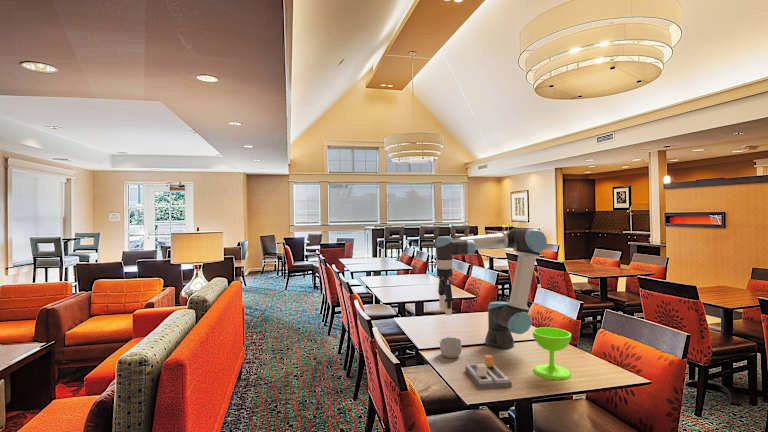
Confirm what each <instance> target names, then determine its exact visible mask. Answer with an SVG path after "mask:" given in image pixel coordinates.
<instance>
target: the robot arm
mask: <svg viewBox="0 0 768 432" xmlns="http://www.w3.org/2000/svg"><path fill="white" fill-rule="evenodd" d="M435 241H436V245H435V249H436V261H435V264H436V267H437V269H436V275H437V276H436V277H439V278H438V281H439V282H438V290H437V291H438V292H437V293H438V295H439V296H438V299H439V309H440V310H441V309H445V316H452V312H453V311H452V304H453V303H452V302H453V300H454V299H453V293H452V292H453V291H452V284H451V282H452V281H451V279H450V278H451V277H453V256H468V255H473V254H475V252H476V250H477V251H478V250H479V251H480V250H488V249H495V248H501V249H504V250H505V249H511V250H512V249H514V250H516V251H515V253H516V254H517V262H516V267H515V272H514V276H513V280H512V281H513V282H512V287H511V292H510V295H509V296H510V297H509V300H508V301H491V302H489V303H488V308H487V313H488V314H487V316H488V317H487V319H488V321H487V322H488V327H487V328H488V329H487V332H486V336H485V338H484V341H485V345H487V346H488V347H491V348H494V349H500V350H501V349H511V348H513V347H514V346H515V340H514V338H513V335H512V334H516V335H523V334H525V333H527V332H528V331H529V330H530V328H531V326H532V322H533V321H532V318H531V315H530V314H529V313H530V312H529V311H530V308H529V306H528V302H529V300H528V299H529V294H530V292H531V291H530V289H531V287H532V286H531V285H532V279H533V276H534V275H533V274H534V269H535V265H536V259H538V258H540V255H541V252H543V251H544V250H545V249H546V248H547V244H548V240H547V237H546V235H545V233H544V232H543V231H541V230H540V229H536V228H519V227H517V228H514V229H507V230H501V231H499V233H490V234H489V233H488V234H480V235H472V236H470V235H469V236H461V237H452V236H450V235H449V236H448V235H446V236H445V235H444V236H441V235H440V236H438V237H436V240H435Z"/></svg>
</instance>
